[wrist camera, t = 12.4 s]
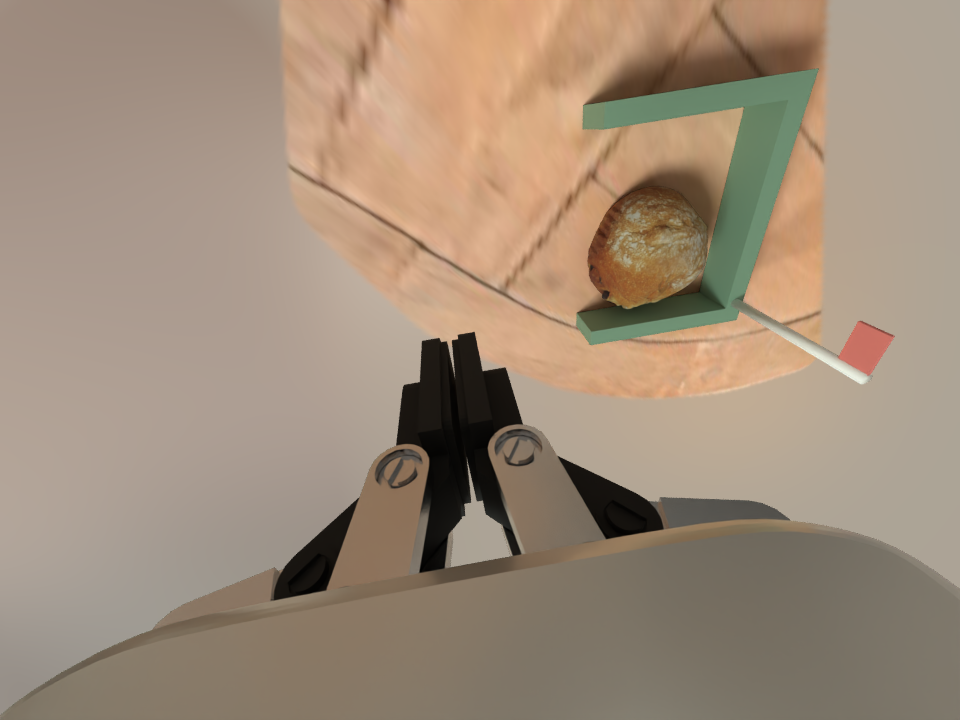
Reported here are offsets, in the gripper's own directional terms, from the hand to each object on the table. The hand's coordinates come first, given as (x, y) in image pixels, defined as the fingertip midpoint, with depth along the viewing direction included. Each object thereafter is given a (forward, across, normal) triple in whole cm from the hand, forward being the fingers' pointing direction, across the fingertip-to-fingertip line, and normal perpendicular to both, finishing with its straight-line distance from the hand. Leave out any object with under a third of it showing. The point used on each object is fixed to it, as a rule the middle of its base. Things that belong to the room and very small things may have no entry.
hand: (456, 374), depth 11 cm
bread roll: (+22, -18, +5) cm, 29 cm away
